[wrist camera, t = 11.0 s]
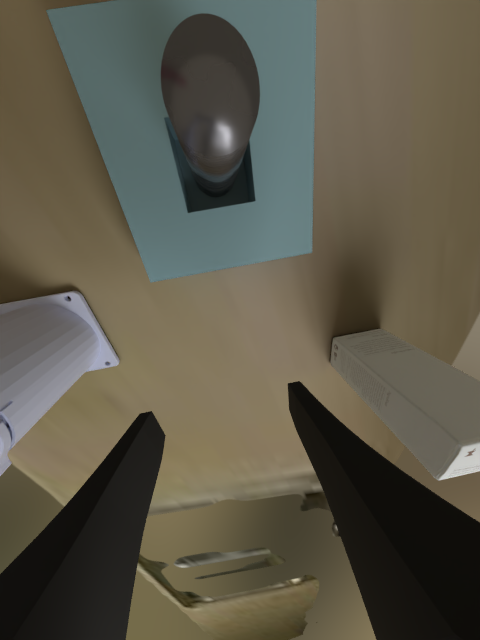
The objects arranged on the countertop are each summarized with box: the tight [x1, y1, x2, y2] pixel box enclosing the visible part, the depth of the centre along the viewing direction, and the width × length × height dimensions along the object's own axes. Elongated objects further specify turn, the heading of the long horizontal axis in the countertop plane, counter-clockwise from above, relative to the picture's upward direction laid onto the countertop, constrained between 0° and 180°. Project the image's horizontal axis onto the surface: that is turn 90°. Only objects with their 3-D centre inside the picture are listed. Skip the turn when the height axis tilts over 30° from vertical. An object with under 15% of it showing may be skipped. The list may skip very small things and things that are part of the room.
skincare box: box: [330, 329, 480, 480], centre depth 16 cm, size 6×4×12 cm
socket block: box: [46, 0, 316, 282], centre depth 12 cm, size 12×12×3 cm
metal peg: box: [161, 13, 260, 197], centre depth 9 cm, size 3×3×8 cm
